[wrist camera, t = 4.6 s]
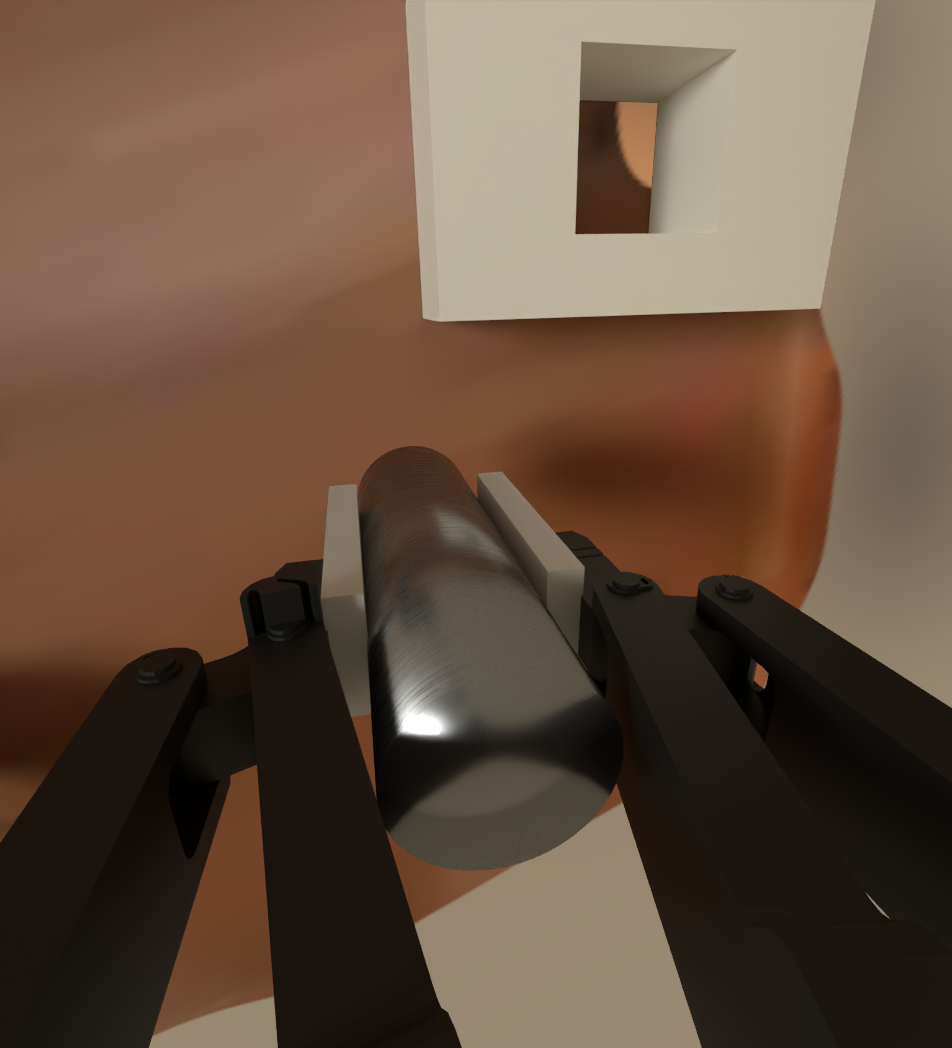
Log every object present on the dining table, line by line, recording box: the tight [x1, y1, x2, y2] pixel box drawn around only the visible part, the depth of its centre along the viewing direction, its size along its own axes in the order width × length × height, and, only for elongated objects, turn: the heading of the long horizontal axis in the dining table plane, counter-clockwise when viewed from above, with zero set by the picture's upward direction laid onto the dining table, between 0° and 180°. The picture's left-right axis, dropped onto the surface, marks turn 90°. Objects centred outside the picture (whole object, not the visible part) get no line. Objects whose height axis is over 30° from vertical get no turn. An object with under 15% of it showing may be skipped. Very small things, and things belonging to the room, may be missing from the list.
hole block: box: [405, 0, 875, 322], centre depth 20 cm, size 10×14×5 cm
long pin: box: [358, 446, 624, 870], centre depth 14 cm, size 4×4×12 cm
